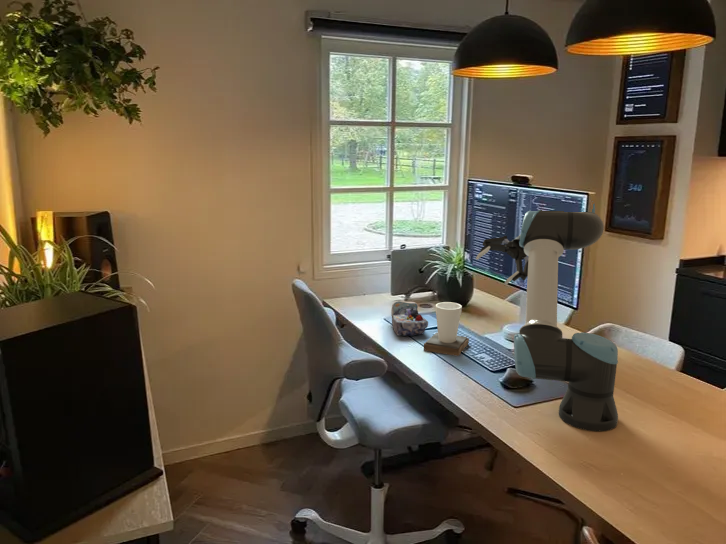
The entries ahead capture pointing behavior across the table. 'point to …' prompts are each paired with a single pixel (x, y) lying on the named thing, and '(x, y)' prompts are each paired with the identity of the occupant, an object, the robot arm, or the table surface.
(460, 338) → the stand
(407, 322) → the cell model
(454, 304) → the foam cup
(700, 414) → the table surface
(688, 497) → the table surface
